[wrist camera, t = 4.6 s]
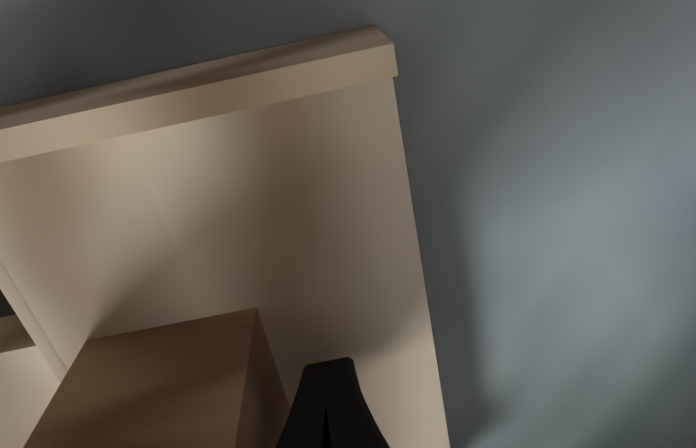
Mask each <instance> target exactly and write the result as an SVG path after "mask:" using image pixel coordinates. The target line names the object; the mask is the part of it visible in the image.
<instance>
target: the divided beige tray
mask: <svg viewBox="0 0 696 448" xmlns="http://www.w3.org/2000/svg"><path fill="white" fill-rule="evenodd" d="M397 76H398V69H397V63H396V56H395V49H394V43H393V42H392V41H391V40H390V39H389V38H388V37H387V36H386V35H385V34H384V33H383V32H382V31H381V30H380V29H379V28H378V27H377V26H376V25H370V26H366V27H361V28H357V29H352V30H348V31H343V32H339V33H334V34H330V35H325V36H320V37H316V38H311V39H307V40H302V41H298V42H293V43H289V44H284V45H280V46H275V47H271V48H266V49H262V50H257V51H253V52H248V53H243V54H239V55H234V56H230V57H225V58H221V59H216V60H212V61H207V62H203V63H198V64H194V65H189V66H185V67H180V68H176V69H171V70H166V71H162V72H157V73H153V74H148V75H144V76H139V77H135V78H130V79H126V80H121V81H117V82H112V83H108V84H103V85H99V86H94V87H89V88H85V89H80V90H76V91H71V92H67V93H62V94H58V95H53V96H49V97H44V98H40V99H35V100H31V101H26V102H22V103H17V104H12V105H8V106H3V107H0V448H23V447H24V445H25V443H26V442H27V440H28V438H29V437H30V435H31V433H32V432H33V430H34V428H35V426H36V425H37V423H38V421H39V420H40V418H41V416H42V414H43V413H44V411H45V409H46V408H47V406H48V404H49V403H50V401H51V399H52V397H53V396H54V394H55V392H56V391H57V389H58V387H59V386H60V384H61V382H62V380H63V379H64V377H65V375H66V374H67V372H68V370H69V368H70V367H71V365H72V363H73V362H74V360H75V358H76V357H77V355H78V353H79V351H80V350H81V348H82V346H83V345H84V343H85V341H86V340H91V339H96V338H102V337H107V336H112V335H117V334H122V333H127V332H133V331H138V330H143V329H148V328H153V327H158V326H164V325H169V324H174V323H179V322H184V321H189V320H194V319H200V318H205V317H210V316H215V315H220V314H225V313H231V312H236V311H241V310H246V309H251V308H257V311H258V314H259V317H260V320H261V323H262V326H263V329H264V332H265V335H266V338H267V341H268V344H269V347H270V350H271V353H272V356H273V359H274V362H275V365H276V368H277V370H278V373H279V376H280V379H281V382H282V385H283V388H284V391H285V394H286V397H287V400H288V403H289V406H290V409H291V407H292V404H293V401H294V398H295V396H296V392H297V389H298V386H299V383H300V379H301V376H302V372H303V369H304V367H305V366H306V365H308V364H313V363H318V362H323V361H328V360H333V359H338V358H344V357H350V358H351V359H353V361H354V365H355V369H356V373H357V377H358V381H359V385H360V389H361V392H362V394H363V397H364V399H365V401H366V403H367V406H368V408H369V410H370V412H371V414H372V416H373V418H374V420H375V422H376V424H377V426H378V427H379V429H380V431H381V433H382V435H383V436H384V438H385V440H386V442H387V443H388V445H389V447H390V448H450V443H449V437H448V430H447V424H446V417H445V411H444V405H443V398H442V392H441V385H440V379H439V372H438V366H437V359H436V353H435V347H434V340H433V334H432V327H431V321H430V314H429V308H428V301H427V295H426V289H425V282H424V276H423V269H422V263H421V256H420V250H419V243H418V237H417V231H416V224H415V218H414V211H413V205H412V198H411V192H410V185H409V179H408V173H407V166H406V160H405V153H404V147H403V140H402V134H401V127H400V121H399V115H398V108H397V102H396V95H395V89H394V82H393V77H397Z"/></svg>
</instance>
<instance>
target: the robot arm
mask: <svg viewBox="0 0 696 448" xmlns="http://www.w3.org/2000/svg"><path fill="white" fill-rule="evenodd" d="M275 448H390V447H389V445H388V443H387V442H386V440H385V438H384V436H383V435H382V433H381V431H380V429H379V427H378V426H377V424H376V422H375V420H374V418H373V416H372V414H371V412H370V410H369V408H368V406H367V403H366V401H365V399H364V397H363V394H362V392H361V389H360V385H359V381H358V377H357V373H356V369H355V365H354V361H353V359H351V358H350V357H344V358H338V359H333V360H328V361H323V362H318V363H313V364H308V365H306V366H305V367H304V369H303V372H302V376H301V379H300V383H299V386H298V389H297V392H296V396H295V398H294V401H293V404H292V407H291V410H290V413H289V415H288V418H287V420H286V423H285V425H284V428H283V430H282V433H281V435H280V438H279V440H278V442H277V445H276V447H275Z"/></svg>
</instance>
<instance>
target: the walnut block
mask: <svg viewBox="0 0 696 448" xmlns="http://www.w3.org/2000/svg"><path fill="white" fill-rule="evenodd" d="M290 410H291V409H290V406H289V403H288V400H287V397H286V394H285V391H284V388H283V385H282V382H281V379H280V376H279V373H278V370H277V368H276V365H275V362H274V359H273V356H272V353H271V350H270V347H269V344H268V341H267V338H266V335H265V332H264V329H263V326H262V323H261V320H260V317H259V314H258V311H257V308H251V309H246V310H241V311H236V312H231V313H225V314H220V315H215V316H210V317H205V318H200V319H194V320H189V321H184V322H179V323H174V324H169V325H164V326H158V327H153V328H148V329H143V330H138V331H133V332H127V333H122V334H117V335H112V336H107V337H102V338H96V339H91V340H86V341H85V343H84V345H83V346H82V348H81V350H80V351H79V353H78V355H77V357H76V358H75V360H74V362H73V363H72V365H71V367H70V368H69V370H68V372H67V374H66V375H65V377H64V379H63V380H62V382H61V384H60V386H59V387H58V389H57V391H56V392H55V394H54V396H53V397H52V399H51V401H50V403H49V404H48V406H47V408H46V409H45V411H44V413H43V414H42V416H41V418H40V420H39V421H38V423H37V425H36V426H35V428H34V430H33V432H32V433H31V435H30V437H29V438H28V440H27V442H26V443H25V445H24V447H23V448H275V447H276V445H277V442H278V440H279V438H280V435H281V433H282V430H283V428H284V425H285V423H286V420H287V418H288V415H289V413H290Z"/></svg>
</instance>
